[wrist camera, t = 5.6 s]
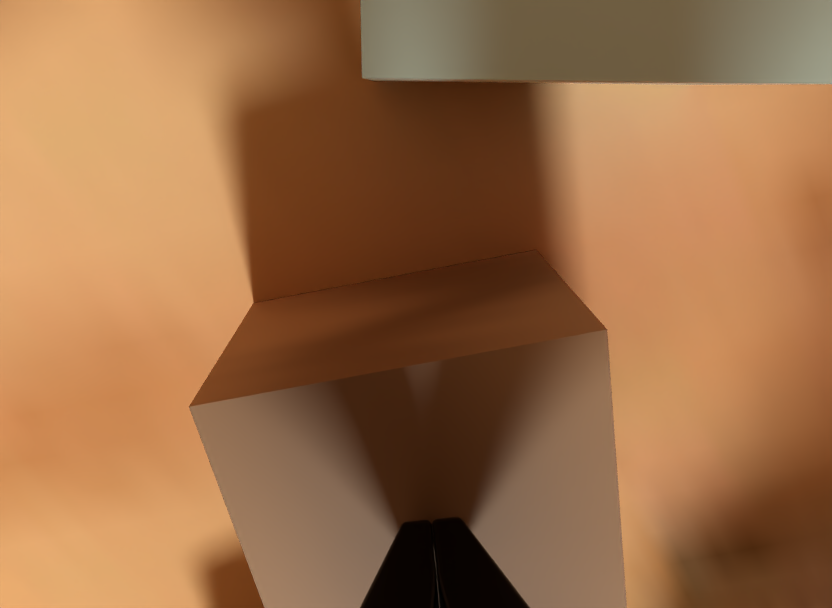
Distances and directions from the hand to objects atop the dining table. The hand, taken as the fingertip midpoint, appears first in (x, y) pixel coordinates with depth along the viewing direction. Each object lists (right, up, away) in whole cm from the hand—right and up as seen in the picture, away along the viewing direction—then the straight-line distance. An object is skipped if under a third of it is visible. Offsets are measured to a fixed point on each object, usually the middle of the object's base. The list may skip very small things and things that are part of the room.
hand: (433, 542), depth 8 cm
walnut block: (0, +1, +4) cm, 4 cm away
